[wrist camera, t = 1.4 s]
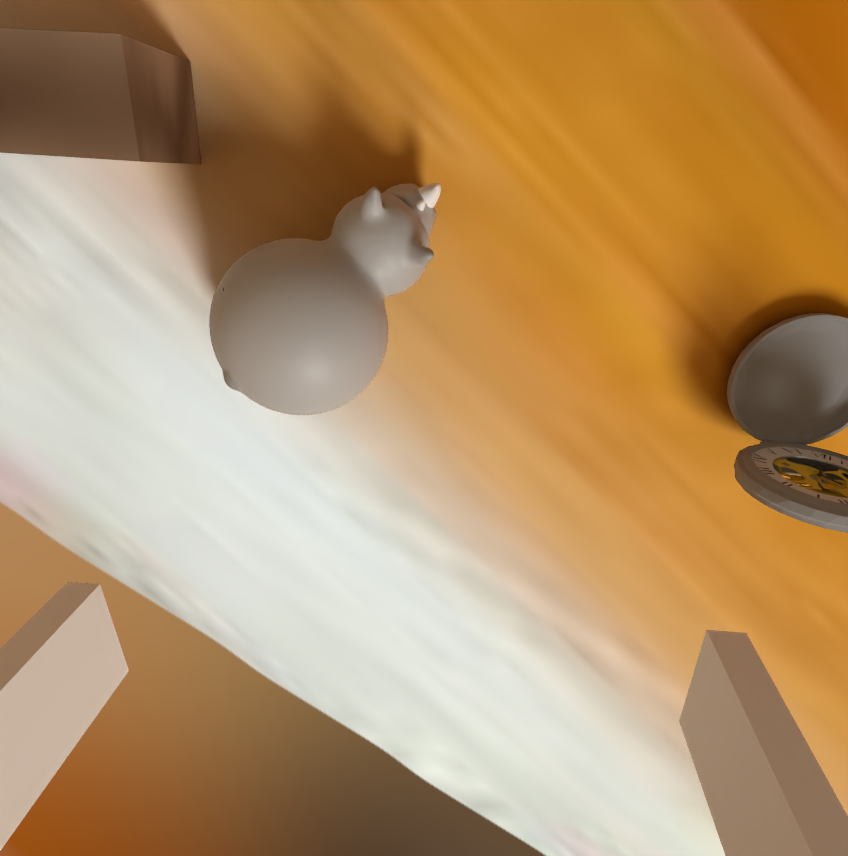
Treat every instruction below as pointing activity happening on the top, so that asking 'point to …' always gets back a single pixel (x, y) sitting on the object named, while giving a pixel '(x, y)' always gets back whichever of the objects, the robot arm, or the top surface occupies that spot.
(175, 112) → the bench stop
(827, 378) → the pocket watch
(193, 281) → the top surface
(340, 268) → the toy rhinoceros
